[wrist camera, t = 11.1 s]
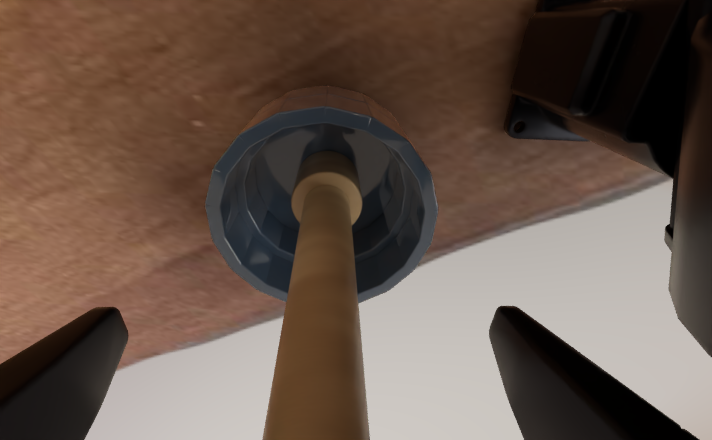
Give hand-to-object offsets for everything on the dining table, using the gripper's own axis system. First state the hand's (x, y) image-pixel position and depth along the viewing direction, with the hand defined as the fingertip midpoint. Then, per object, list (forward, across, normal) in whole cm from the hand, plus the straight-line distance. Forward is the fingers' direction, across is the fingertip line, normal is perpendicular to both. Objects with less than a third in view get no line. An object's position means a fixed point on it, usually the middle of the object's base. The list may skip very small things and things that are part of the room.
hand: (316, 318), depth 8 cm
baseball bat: (+8, 0, 0) cm, 8 cm away
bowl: (+9, 0, 0) cm, 9 cm away
